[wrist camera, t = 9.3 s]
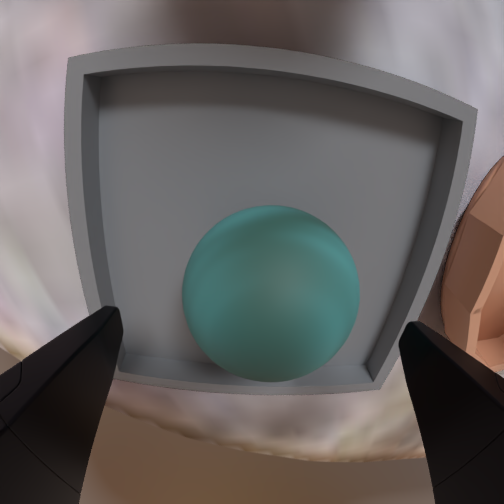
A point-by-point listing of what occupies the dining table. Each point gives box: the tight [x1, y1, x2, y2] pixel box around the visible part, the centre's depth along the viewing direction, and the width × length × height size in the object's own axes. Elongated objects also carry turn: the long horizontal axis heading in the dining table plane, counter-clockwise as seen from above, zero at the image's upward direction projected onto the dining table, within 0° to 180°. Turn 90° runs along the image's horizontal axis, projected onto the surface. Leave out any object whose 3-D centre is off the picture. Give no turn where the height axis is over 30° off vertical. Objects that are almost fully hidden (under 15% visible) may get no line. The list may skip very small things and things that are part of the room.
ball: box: [182, 205, 360, 382], centre depth 10 cm, size 6×6×6 cm
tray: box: [64, 43, 478, 395], centre depth 12 cm, size 16×16×2 cm
